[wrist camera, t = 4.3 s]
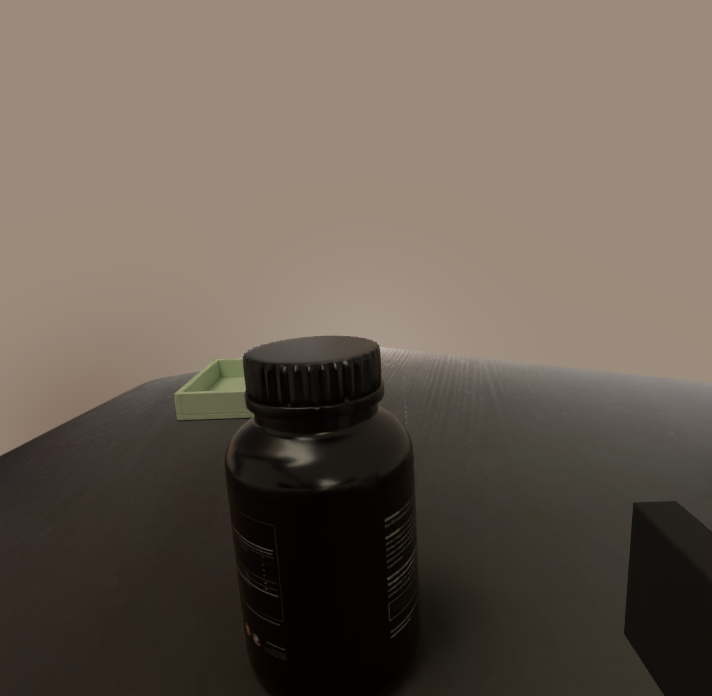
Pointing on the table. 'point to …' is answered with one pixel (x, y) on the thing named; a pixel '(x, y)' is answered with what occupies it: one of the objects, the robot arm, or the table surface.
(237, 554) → the supplement bottle
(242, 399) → the tray
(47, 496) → the table surface
